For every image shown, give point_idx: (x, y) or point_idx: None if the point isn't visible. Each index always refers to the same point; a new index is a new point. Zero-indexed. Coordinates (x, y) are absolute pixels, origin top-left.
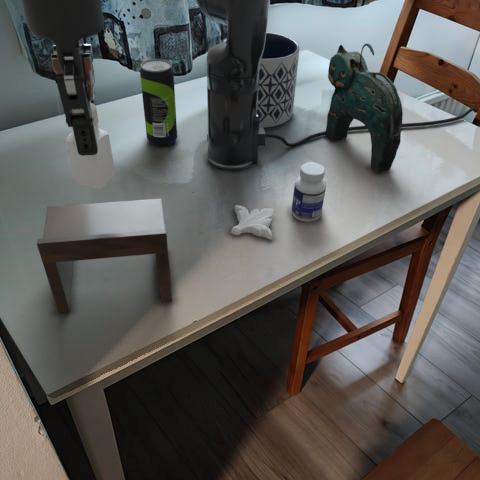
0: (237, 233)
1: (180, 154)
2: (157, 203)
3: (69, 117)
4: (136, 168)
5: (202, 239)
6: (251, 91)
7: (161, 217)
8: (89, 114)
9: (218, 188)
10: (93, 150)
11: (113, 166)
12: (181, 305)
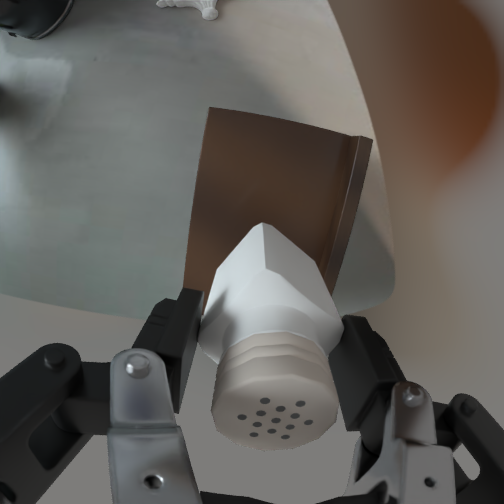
0: (217, 13)
1: (16, 77)
2: (225, 118)
3: (456, 465)
4: (25, 138)
5: (209, 61)
6: None
7: (275, 122)
8: (493, 425)
9: (99, 24)
10: (375, 333)
11: (272, 232)
12: (341, 131)
